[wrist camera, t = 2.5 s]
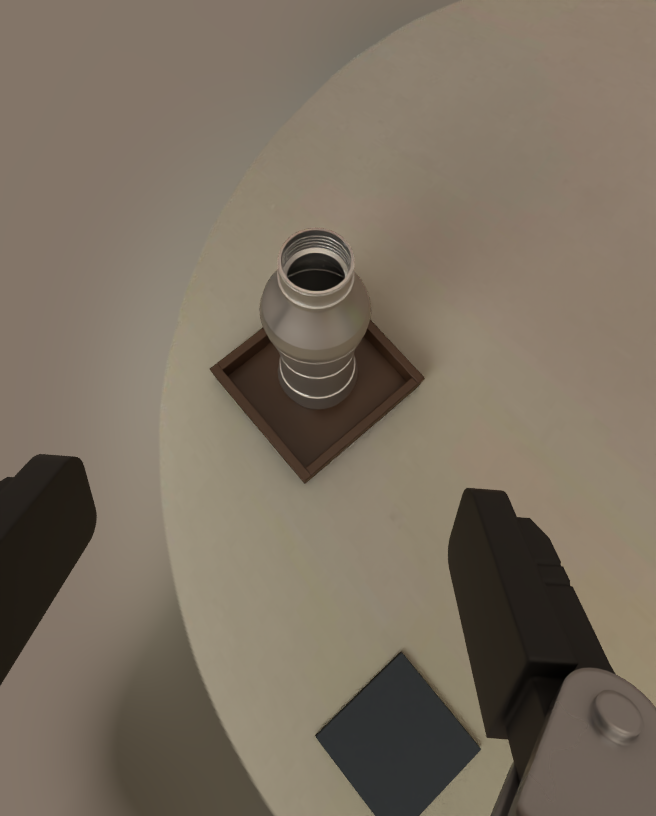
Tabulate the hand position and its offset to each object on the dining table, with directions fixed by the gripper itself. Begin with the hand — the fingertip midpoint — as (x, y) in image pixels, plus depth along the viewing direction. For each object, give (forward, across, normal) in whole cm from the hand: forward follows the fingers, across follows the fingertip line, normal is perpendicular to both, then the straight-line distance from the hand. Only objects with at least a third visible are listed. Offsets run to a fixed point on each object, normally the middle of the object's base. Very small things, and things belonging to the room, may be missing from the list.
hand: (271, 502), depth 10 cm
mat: (+10, -8, +33) cm, 36 cm away
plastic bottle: (+29, 0, +13) cm, 32 cm away
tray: (+30, 0, +13) cm, 33 cm away
